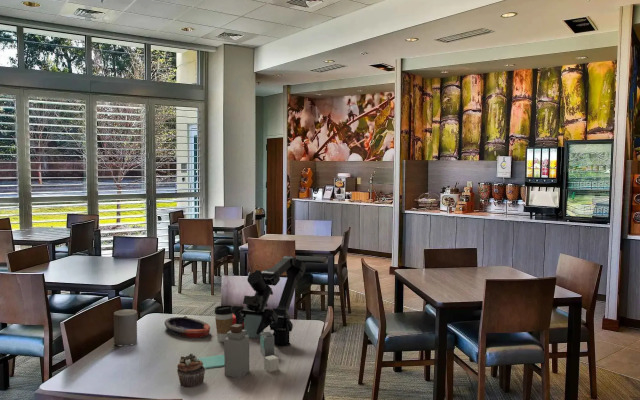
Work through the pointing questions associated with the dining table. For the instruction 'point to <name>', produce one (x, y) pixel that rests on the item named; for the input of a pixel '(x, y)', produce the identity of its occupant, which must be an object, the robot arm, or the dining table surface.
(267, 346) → the napkin dispenser
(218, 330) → the coffee cup
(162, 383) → the dining table surface
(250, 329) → the drinking glass
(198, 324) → the inflatable boat
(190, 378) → the cupcake
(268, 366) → the grey block
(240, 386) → the dining table surface
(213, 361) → the teal tile
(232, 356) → the perfume bottle
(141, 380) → the dining table surface
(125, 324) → the pillar candle
